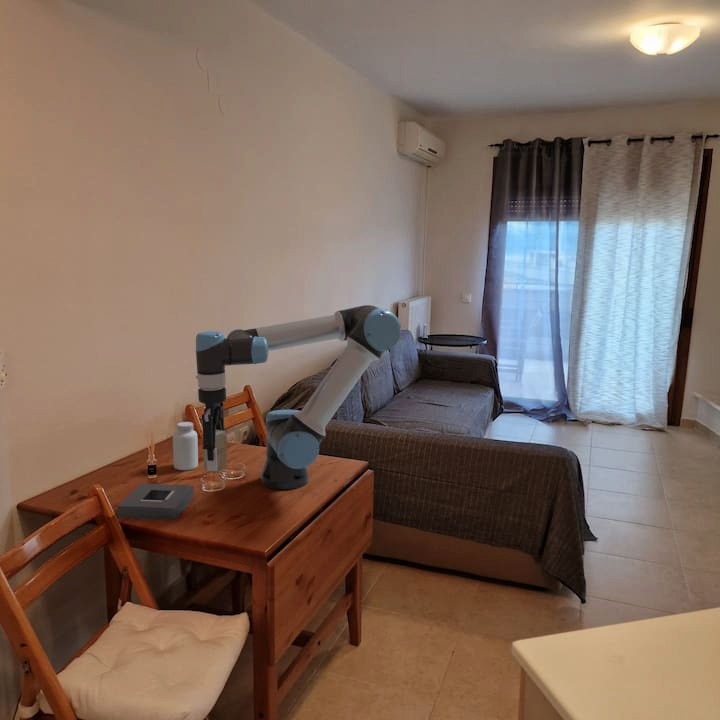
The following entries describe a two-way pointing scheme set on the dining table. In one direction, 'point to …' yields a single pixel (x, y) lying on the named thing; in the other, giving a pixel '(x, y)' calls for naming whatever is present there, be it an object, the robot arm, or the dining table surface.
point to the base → (156, 501)
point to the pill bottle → (185, 447)
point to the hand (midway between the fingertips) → (215, 465)
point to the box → (218, 451)
